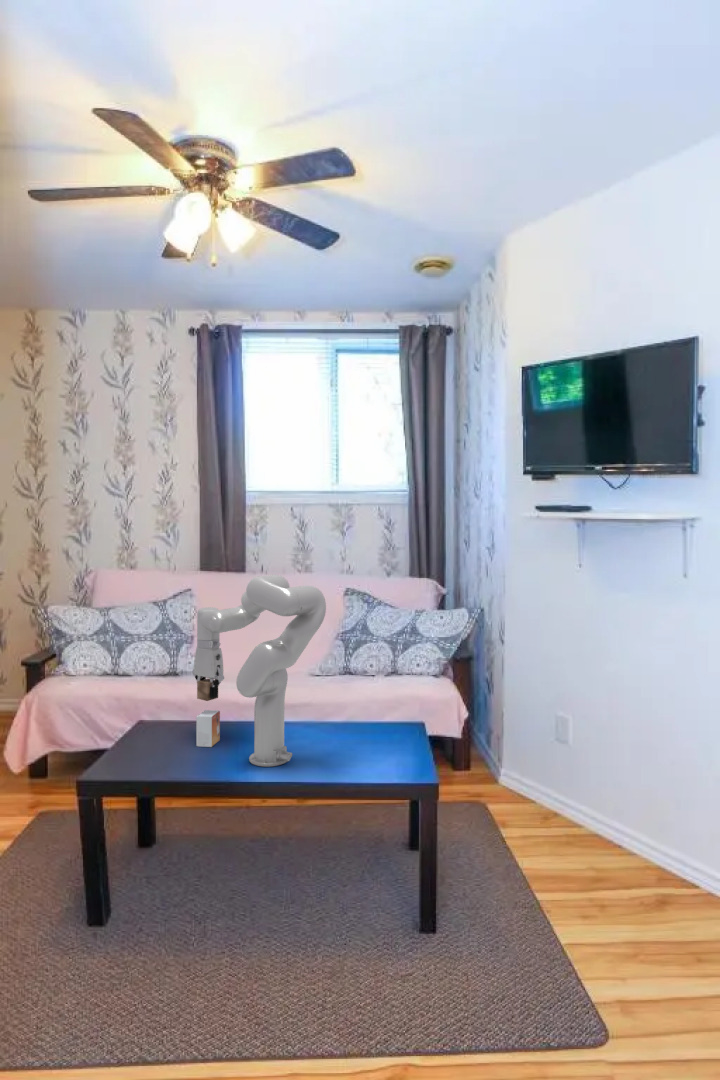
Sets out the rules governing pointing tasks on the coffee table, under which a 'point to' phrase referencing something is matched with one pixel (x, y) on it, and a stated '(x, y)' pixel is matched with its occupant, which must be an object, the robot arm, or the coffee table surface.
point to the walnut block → (204, 690)
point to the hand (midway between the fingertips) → (207, 695)
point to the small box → (208, 728)
